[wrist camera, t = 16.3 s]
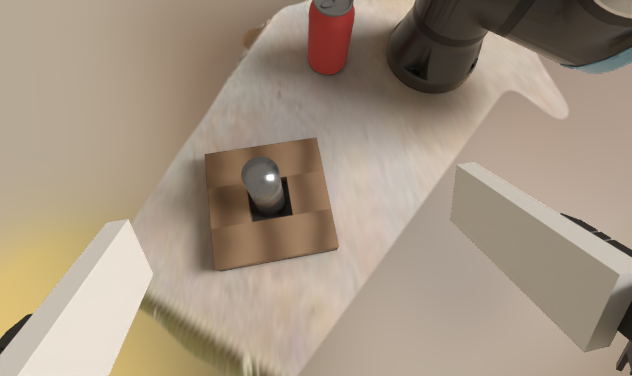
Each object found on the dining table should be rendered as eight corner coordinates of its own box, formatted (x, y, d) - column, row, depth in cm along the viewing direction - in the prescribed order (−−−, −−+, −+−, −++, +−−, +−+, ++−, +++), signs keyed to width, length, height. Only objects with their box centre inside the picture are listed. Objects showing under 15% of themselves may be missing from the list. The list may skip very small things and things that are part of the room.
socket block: (315, 147, 49) (316, 137, 45) (336, 250, 44) (338, 246, 40) (211, 163, 47) (204, 154, 44) (221, 271, 42) (214, 269, 39)
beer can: (300, 57, 54) (299, -6, 42) (329, 39, 55) (337, -26, 44) (323, 83, 52) (329, 25, 41) (353, 64, 54) (367, 3, 42)
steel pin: (283, 188, 45) (276, 154, 34) (287, 214, 44) (281, 188, 33) (255, 192, 45) (239, 159, 33) (258, 219, 44) (243, 194, 32)
